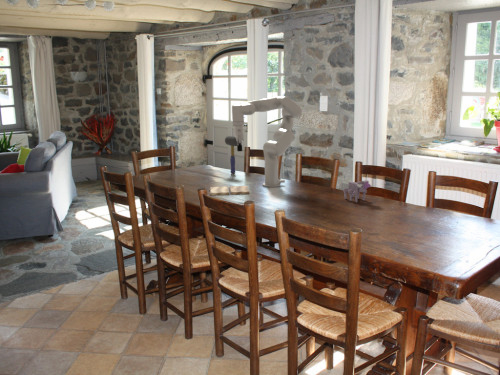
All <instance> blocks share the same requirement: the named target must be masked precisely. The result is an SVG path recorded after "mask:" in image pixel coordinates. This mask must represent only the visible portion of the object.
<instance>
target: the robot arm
mask: <svg viewBox="0 0 500 375" xmlns="http://www.w3.org/2000/svg"><path fill="white" fill-rule="evenodd" d="M279 109H281V116H282V121H281V123H280V125H278V127H277V129H276V130H275V132H274V133H273V134H272V135H273V136H272V138H273V140H267V141H265V143H264V144H263V146H262V149H263V158H264V182H263V183H262V186H263V187H267V188H277V187H280V186H281V183H282V184H285V183H286V180H285V179H279V157H281V156H284V154H285V153H286V152H287V151H288V148H289V147H290V145H291V144H292V143H293V141H294V136H295V135H294V133H293V131H292V129H293V127H294V119H298V118H300V117H301V116H302V114H303V113H302V112H303V111H302V108H301V106H300V105H298V104H297V103H296V102H295V101H294V100H292V99H291V98H290V97H288V96H283V95H277V96H273V97H268V98H262V99H261V98H260V99H258V100H256V99H255V100H251V101H246V102H241V103H239V104H233V105H231V117H232V118H231V120H232V127H234V137H236V141H237V146H236V150H237V152H242V151H243V142H244V140H245V138H244V137H245V136H244V126H245V117H244V116H251V115H252V116H253V115H254V114H255V113H256V112H259V113H264V112H270V111H274V110H279Z"/></svg>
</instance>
